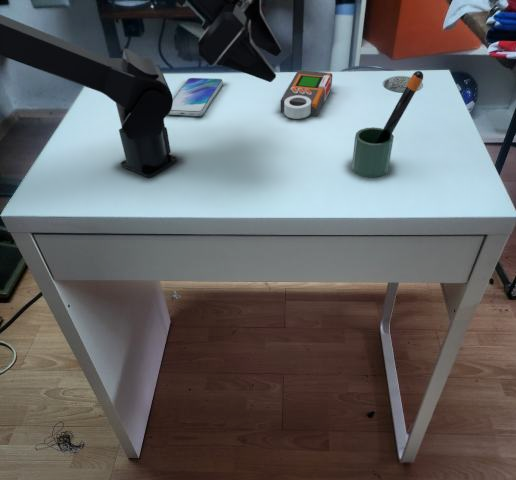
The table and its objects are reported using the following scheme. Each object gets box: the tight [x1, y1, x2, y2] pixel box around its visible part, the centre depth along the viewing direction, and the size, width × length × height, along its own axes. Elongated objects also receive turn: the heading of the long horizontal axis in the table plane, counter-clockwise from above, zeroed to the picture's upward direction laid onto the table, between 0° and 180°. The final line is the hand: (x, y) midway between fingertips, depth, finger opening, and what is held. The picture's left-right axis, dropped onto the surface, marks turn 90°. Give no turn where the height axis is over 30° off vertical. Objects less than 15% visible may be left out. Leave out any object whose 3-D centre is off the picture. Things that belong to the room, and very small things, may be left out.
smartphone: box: [168, 77, 224, 117], centre depth 94 cm, size 7×1×15 cm
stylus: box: [375, 70, 424, 144], centre depth 71 cm, size 2×2×14 cm
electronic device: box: [280, 69, 333, 120], centre depth 91 cm, size 7×3×15 cm
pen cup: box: [351, 126, 395, 178], centre depth 74 cm, size 5×5×5 cm
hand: (276, 65), depth 69 cm, fingers open, 9 cm apart
